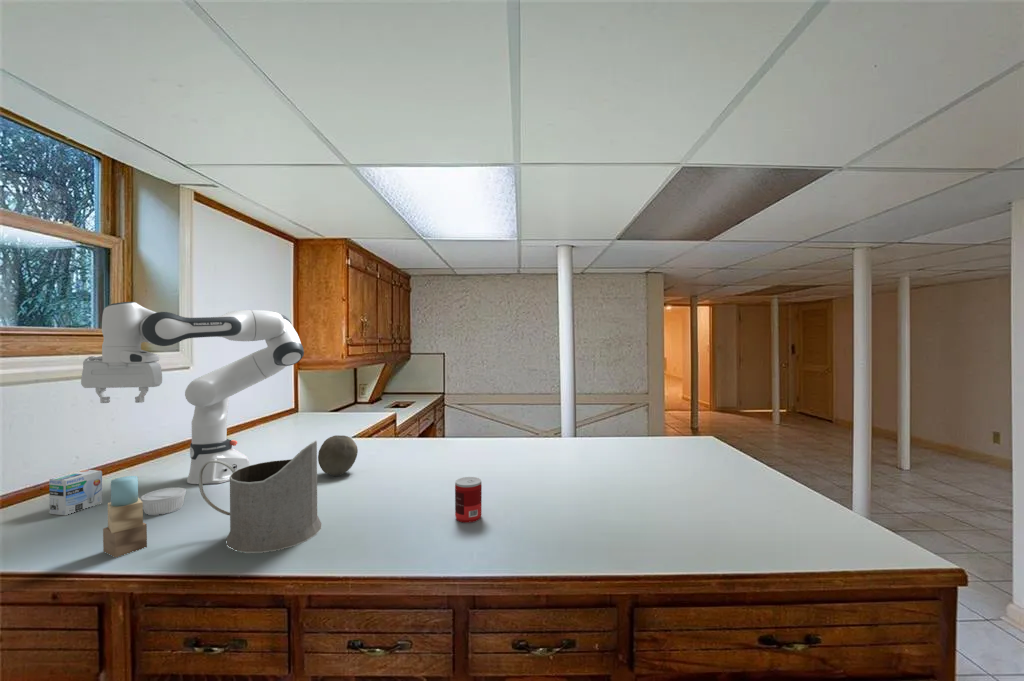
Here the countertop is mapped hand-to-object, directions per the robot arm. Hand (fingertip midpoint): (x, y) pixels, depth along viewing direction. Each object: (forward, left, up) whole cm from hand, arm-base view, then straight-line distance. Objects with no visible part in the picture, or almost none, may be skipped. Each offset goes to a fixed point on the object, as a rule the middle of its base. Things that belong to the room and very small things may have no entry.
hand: (122, 402), depth 137 cm
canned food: (-61, +83, -34) cm, 109 cm away
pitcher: (-19, +44, -34) cm, 59 cm away
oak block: (+6, +27, -28) cm, 39 cm away
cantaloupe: (-62, +14, -34) cm, 72 cm away
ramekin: (-9, +3, -34) cm, 36 cm away
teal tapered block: (+6, +27, -22) cm, 35 cm away
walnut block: (+6, +27, -34) cm, 44 cm away
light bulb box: (+7, -20, -34) cm, 40 cm away
